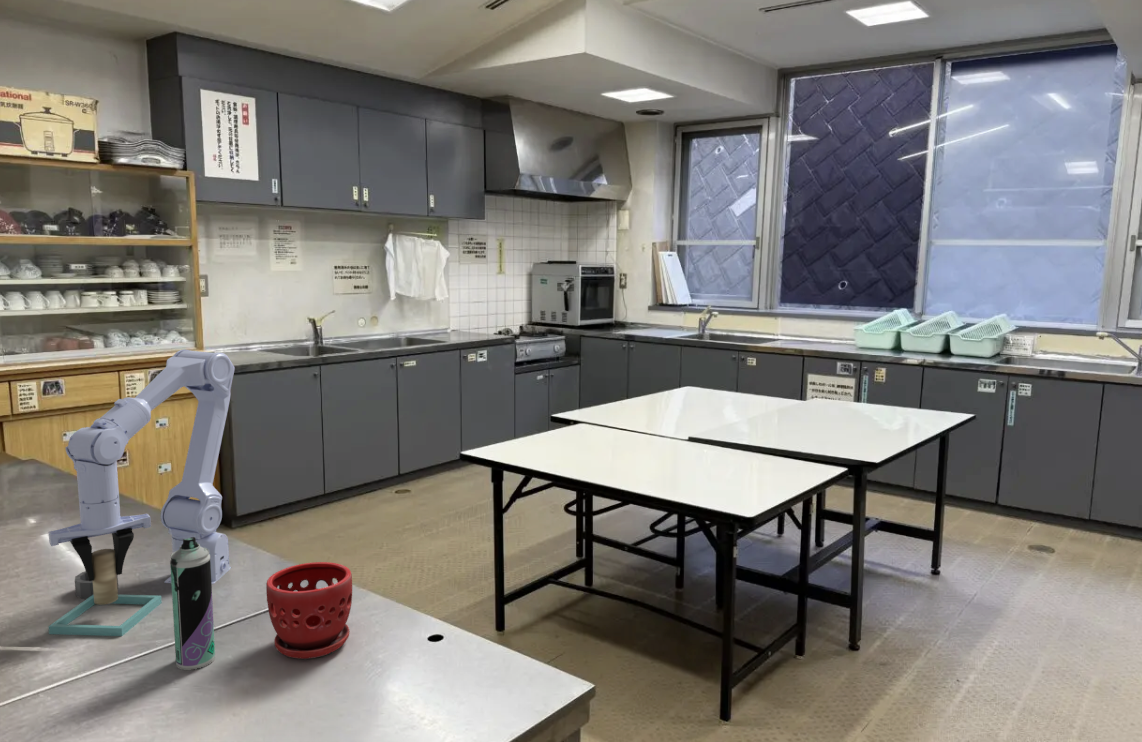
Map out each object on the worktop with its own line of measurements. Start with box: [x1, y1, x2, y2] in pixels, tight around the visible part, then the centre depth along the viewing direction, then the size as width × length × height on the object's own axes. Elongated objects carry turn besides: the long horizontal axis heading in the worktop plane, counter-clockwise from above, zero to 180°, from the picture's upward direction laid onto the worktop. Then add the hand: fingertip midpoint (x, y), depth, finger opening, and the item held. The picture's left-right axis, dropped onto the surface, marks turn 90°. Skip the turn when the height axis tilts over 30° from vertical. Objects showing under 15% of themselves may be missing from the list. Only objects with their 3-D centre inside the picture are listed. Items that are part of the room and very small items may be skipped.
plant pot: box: [265, 561, 353, 660], centre depth 124 cm, size 13×13×12 cm
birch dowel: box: [92, 548, 119, 606], centre depth 130 cm, size 4×4×8 cm
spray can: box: [169, 537, 216, 671], centre depth 118 cm, size 6×6×20 cm
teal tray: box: [47, 593, 163, 637], centre depth 131 cm, size 12×12×2 cm
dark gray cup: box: [74, 571, 119, 600], centre depth 141 cm, size 7×7×4 cm
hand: (104, 575), depth 130 cm, fingers closed on birch dowel, 3 cm apart
